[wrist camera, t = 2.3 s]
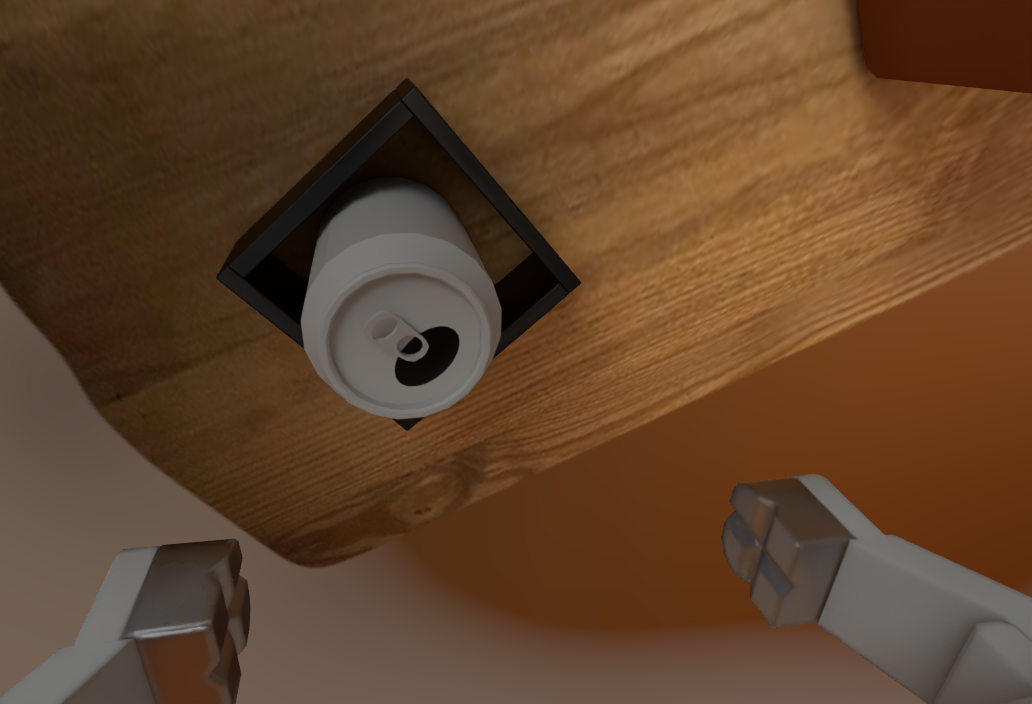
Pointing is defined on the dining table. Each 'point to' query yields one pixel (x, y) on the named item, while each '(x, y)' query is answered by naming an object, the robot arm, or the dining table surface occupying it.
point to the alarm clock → (950, 42)
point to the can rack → (250, 259)
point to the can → (398, 301)
